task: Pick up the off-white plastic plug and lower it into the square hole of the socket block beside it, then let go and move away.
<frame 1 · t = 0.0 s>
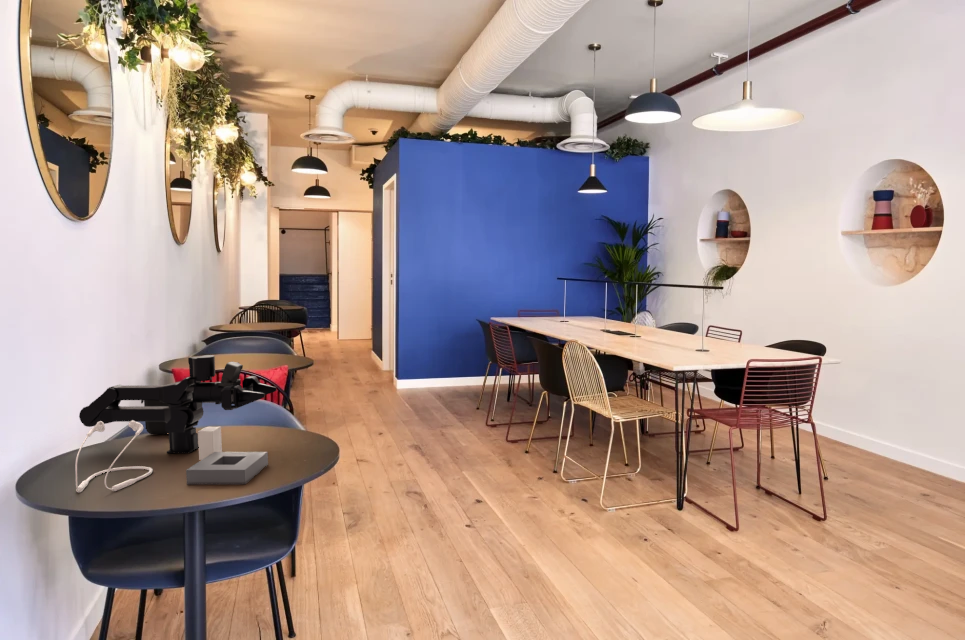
hand: (270, 392, 177), 17 cm above the table, tool horizontal, fingers open, 9 cm apart
socket block: (229, 474, 158), on the table
earphone: (114, 482, 153), on the table
carrying case or bag: (161, 435, 197), on the table
plug: (210, 458, 172), on the table
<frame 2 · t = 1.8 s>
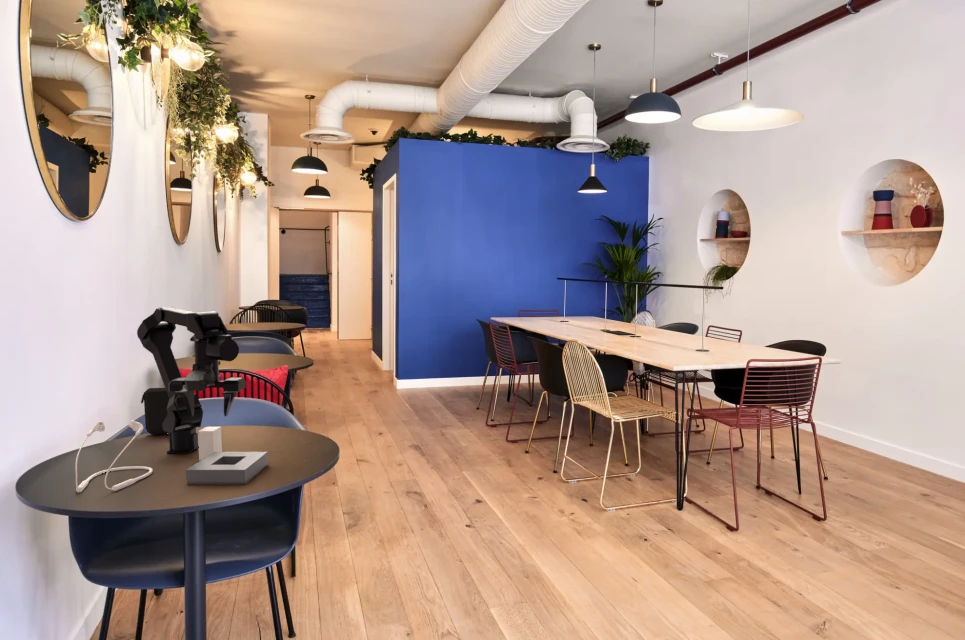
hand: (208, 416, 171), 11 cm above the table, tool pointing down, fingers open, 9 cm apart
nothing on the table moved.
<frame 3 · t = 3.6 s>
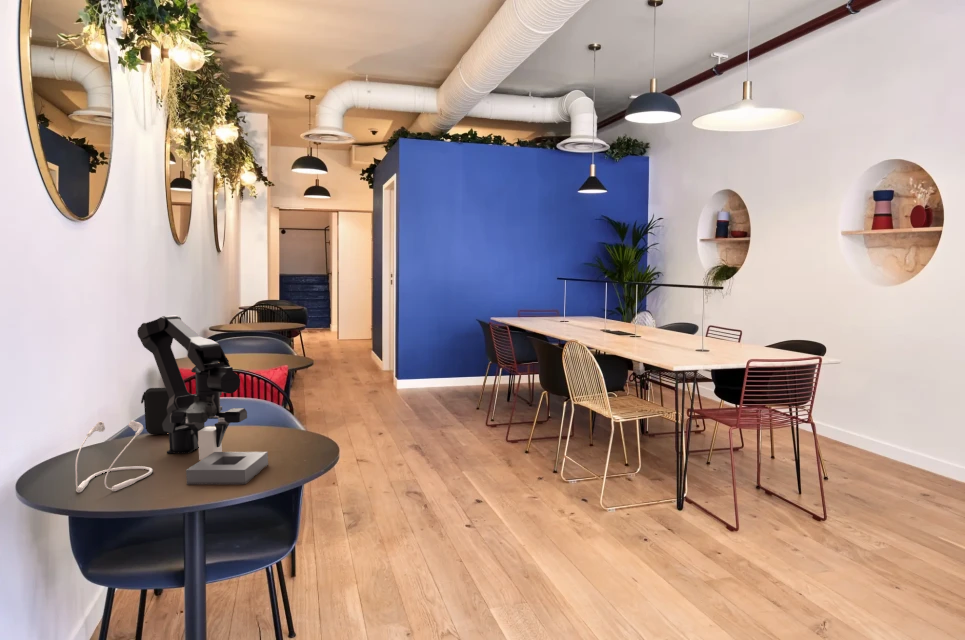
hand: (210, 446, 172), 3 cm above the table, tool pointing down, fingers closed on plug, 4 cm apart
plug: (210, 457, 172), on the table, touching gripper
everything else where it was.
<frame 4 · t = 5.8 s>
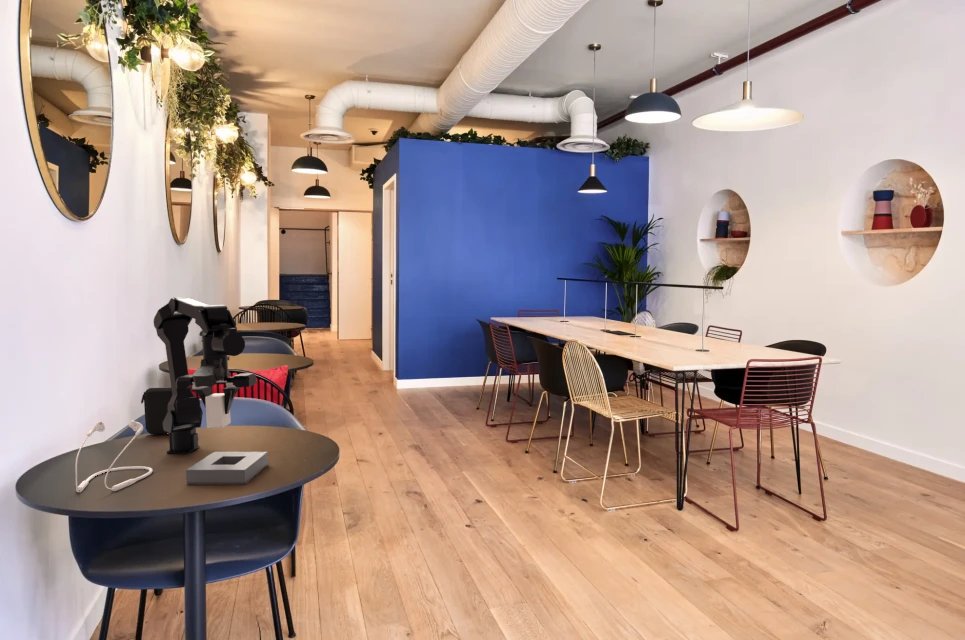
hand: (218, 414, 164), 14 cm above the table, tool pointing down, fingers closed on plug, 4 cm apart
plug: (219, 425, 164), point 11 cm above the table, touching gripper
everything else where it was.
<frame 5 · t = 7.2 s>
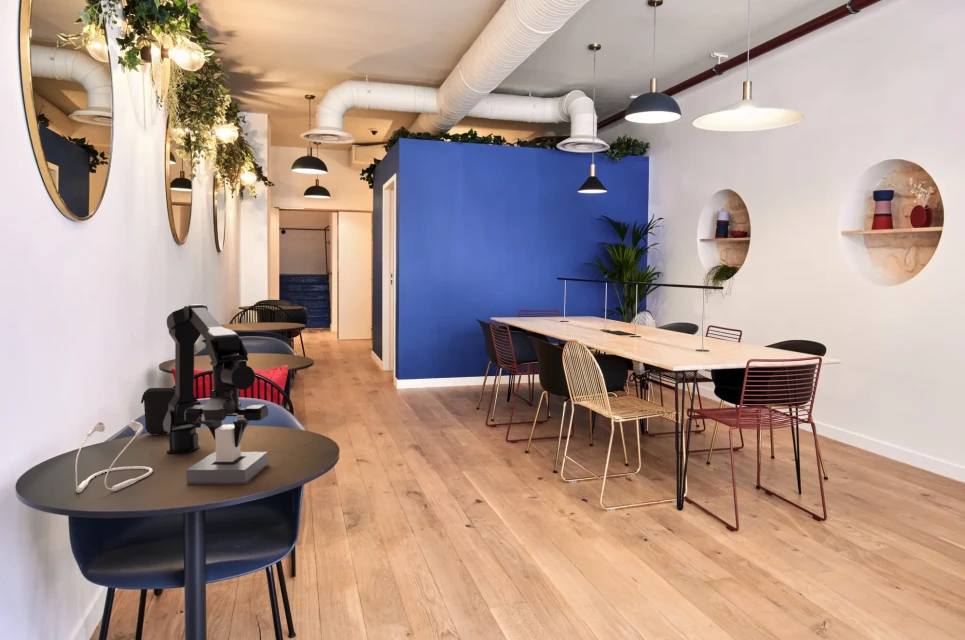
hand: (228, 446, 157), 7 cm above the table, tool pointing down, fingers closed on plug, 4 cm apart
plug: (228, 458, 157), point 4 cm above the table, touching gripper
everything else where it was.
when the fingers open (4 cm above the table, at t = 8.4 s): plug stays where it is, resting on socket block.
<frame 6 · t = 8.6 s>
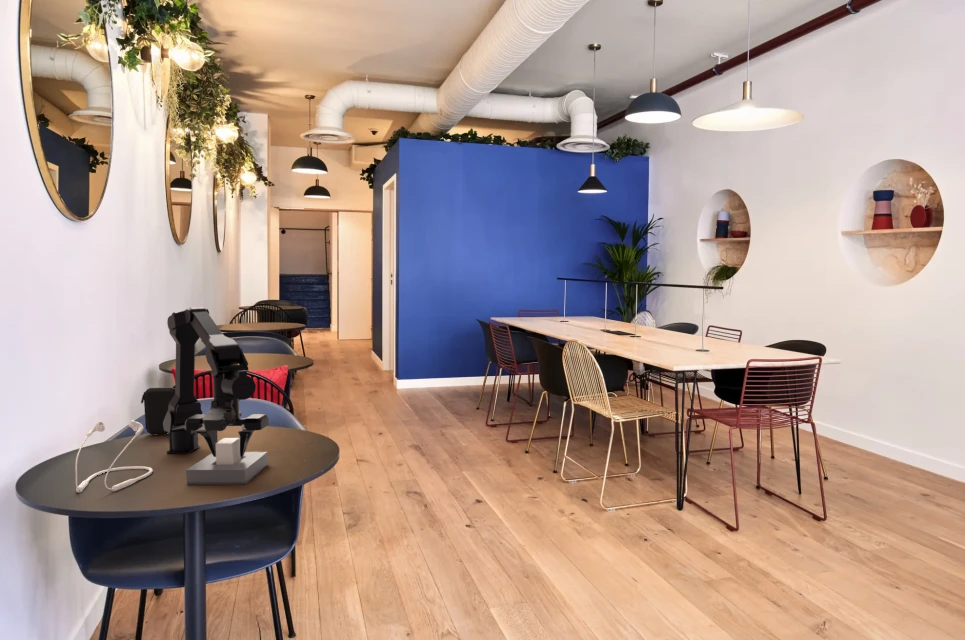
hand: (228, 456, 157), 4 cm above the table, tool pointing down, fingers open, 6 cm apart
plug: (229, 472, 158), resting on socket block
everything else where it was.
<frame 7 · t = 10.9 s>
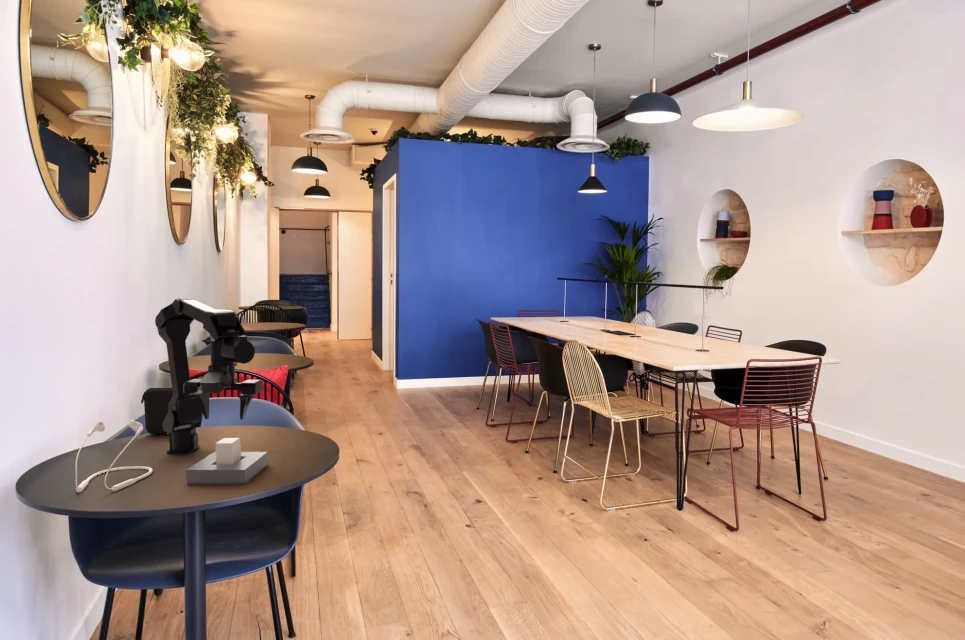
hand: (224, 419, 165), 12 cm above the table, tool pointing down, fingers open, 9 cm apart
nothing on the table moved.
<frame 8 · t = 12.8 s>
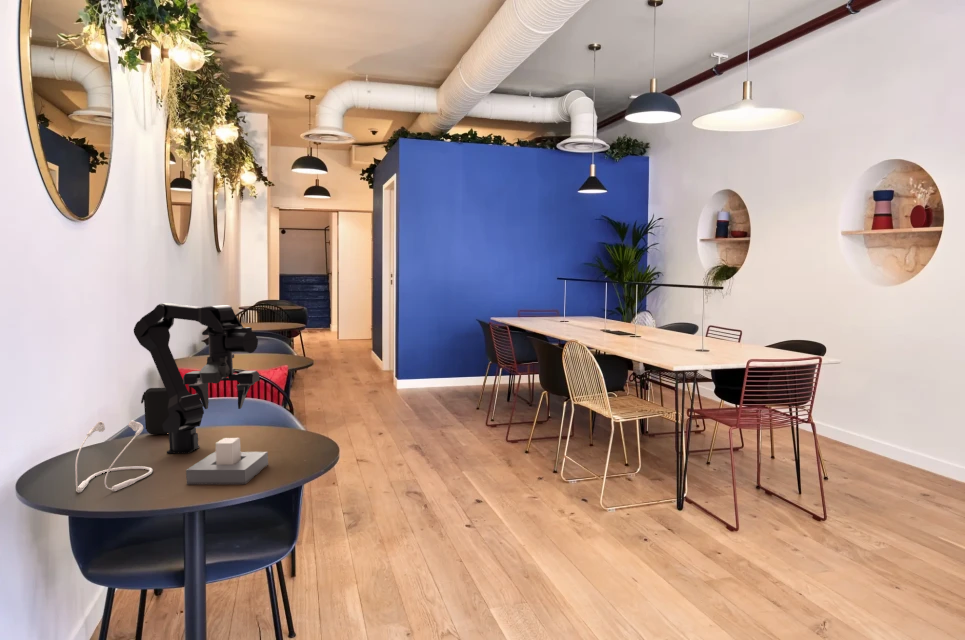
hand: (223, 408, 173), 13 cm above the table, tool pointing down, fingers open, 9 cm apart
nothing on the table moved.
at the end: plug 0.0 cm off-centre on the socket block, point 0.5 cm above the socket block's base; plug tilted 0°; the gripper is holding nothing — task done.
